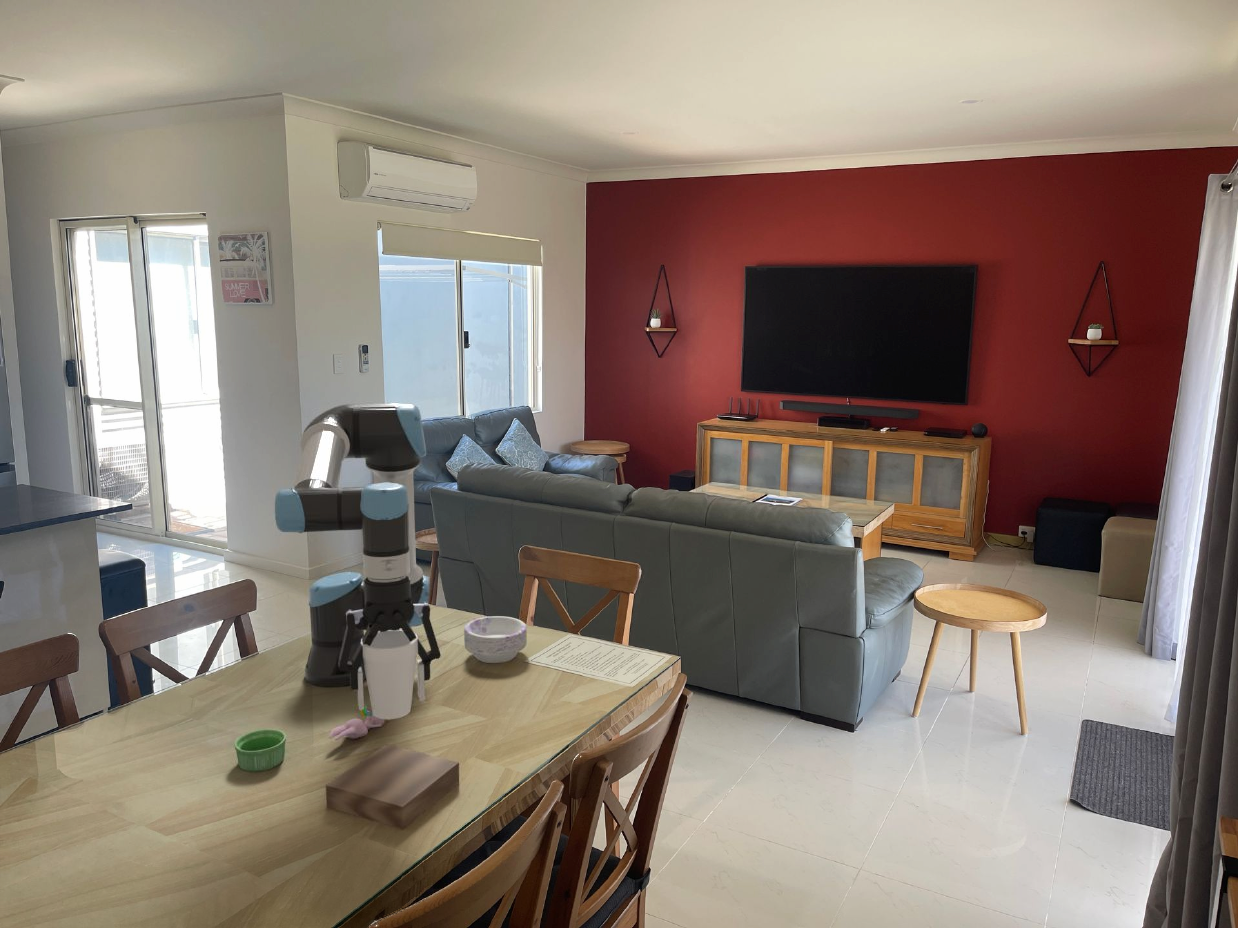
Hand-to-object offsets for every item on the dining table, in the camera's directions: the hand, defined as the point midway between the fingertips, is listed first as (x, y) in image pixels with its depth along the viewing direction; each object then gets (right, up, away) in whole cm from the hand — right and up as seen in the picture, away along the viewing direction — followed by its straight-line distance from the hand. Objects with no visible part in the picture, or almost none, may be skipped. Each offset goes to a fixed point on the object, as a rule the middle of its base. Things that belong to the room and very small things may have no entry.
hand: (391, 702), depth 151 cm
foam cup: (0, -2, 0) cm, 2 cm away
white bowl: (+9, -7, +66) cm, 67 cm away
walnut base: (0, -17, +3) cm, 17 cm away
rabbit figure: (-13, -14, +25) cm, 31 cm away
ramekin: (-28, -15, +14) cm, 35 cm away
